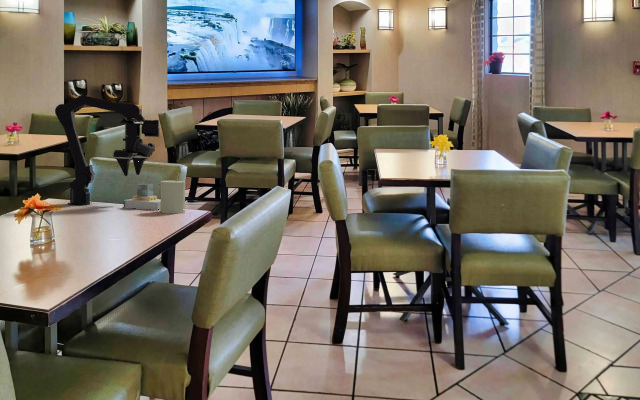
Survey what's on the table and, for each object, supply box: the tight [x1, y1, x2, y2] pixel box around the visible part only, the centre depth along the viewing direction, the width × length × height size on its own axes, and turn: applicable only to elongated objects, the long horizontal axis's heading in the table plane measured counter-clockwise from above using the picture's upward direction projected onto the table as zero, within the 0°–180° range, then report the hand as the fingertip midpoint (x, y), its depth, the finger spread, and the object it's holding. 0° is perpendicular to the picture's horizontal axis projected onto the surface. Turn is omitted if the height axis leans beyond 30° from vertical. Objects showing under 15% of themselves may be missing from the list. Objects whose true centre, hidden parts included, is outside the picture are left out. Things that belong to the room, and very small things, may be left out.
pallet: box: [132, 183, 158, 201], centre depth 232 cm, size 7×6×6 cm
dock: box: [123, 198, 161, 211], centre depth 232 cm, size 14×11×3 cm
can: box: [159, 179, 186, 215], centre depth 222 cm, size 9×9×12 cm
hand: (132, 175), depth 237 cm, fingers open, 9 cm apart
